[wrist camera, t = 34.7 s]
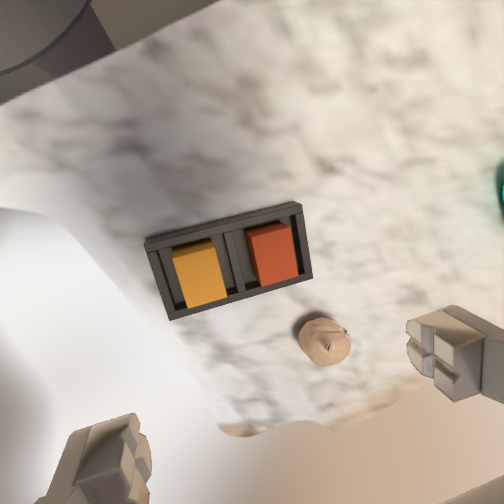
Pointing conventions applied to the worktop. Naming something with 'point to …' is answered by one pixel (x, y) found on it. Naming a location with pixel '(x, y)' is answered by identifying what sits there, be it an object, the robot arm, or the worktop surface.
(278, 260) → the orange-red rectangular block
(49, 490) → the robot arm
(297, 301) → the worktop surface
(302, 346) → the garlic bulb
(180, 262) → the yellow-orange rectangular block
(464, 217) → the worktop surface
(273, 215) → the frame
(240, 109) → the worktop surface
